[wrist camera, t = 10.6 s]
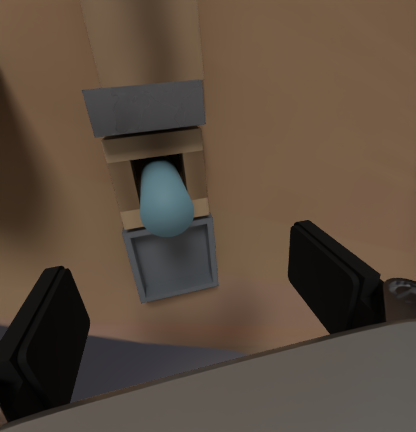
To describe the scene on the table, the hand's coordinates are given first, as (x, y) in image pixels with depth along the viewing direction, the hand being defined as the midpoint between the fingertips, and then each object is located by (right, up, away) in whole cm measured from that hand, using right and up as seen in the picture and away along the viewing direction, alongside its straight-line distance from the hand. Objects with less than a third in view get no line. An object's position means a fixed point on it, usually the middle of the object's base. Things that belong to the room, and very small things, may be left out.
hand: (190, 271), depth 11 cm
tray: (-3, -1, +18) cm, 18 cm away
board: (-4, +17, +10) cm, 20 cm away
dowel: (-4, +7, +14) cm, 16 cm away
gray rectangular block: (-5, +12, +11) cm, 17 cm away
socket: (-4, +7, +14) cm, 16 cm away
